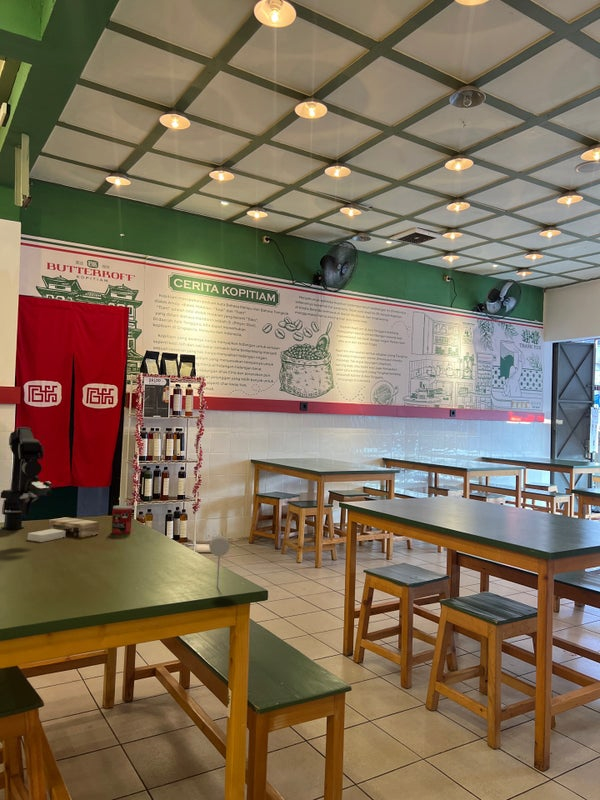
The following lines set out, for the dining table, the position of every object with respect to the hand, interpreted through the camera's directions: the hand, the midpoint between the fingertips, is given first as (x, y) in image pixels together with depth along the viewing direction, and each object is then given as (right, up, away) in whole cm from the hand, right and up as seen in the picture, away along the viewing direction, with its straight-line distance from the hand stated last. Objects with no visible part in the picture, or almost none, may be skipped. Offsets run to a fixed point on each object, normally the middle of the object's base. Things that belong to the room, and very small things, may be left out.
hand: (25, 515), depth 224 cm
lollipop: (+78, -12, -47) cm, 92 cm away
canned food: (+27, -13, +28) cm, 41 cm away
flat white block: (+4, -11, +10) cm, 15 cm away
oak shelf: (+9, -11, +22) cm, 27 cm away
